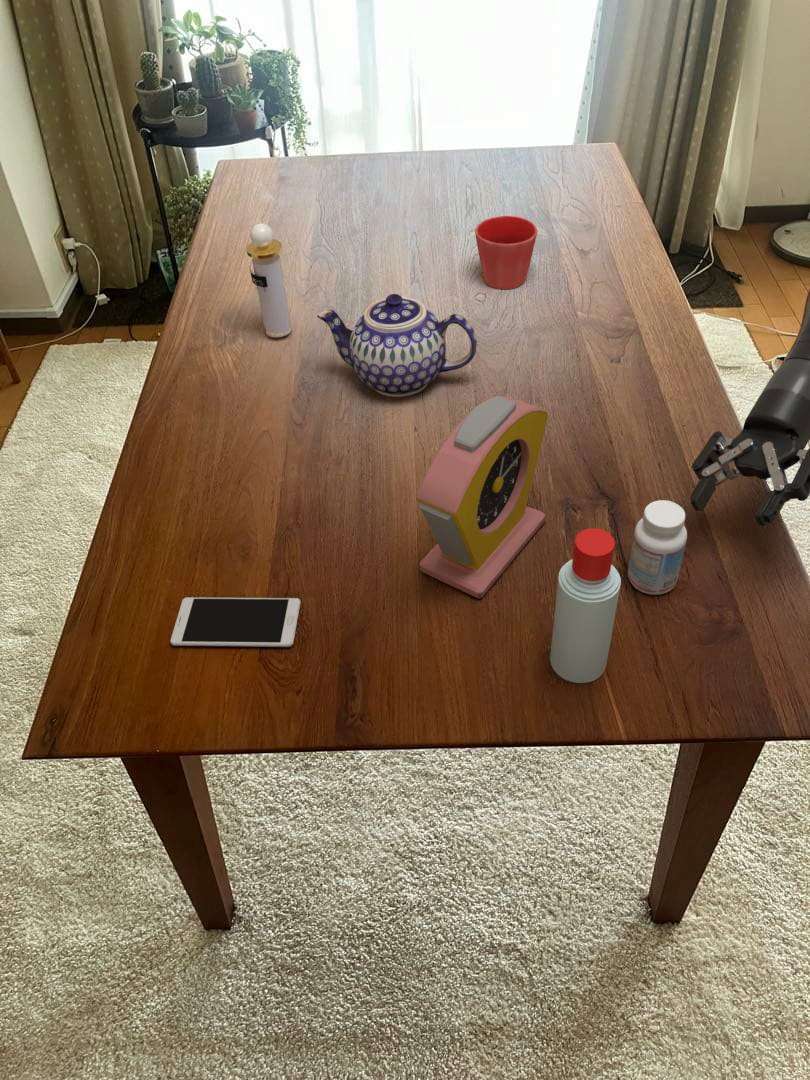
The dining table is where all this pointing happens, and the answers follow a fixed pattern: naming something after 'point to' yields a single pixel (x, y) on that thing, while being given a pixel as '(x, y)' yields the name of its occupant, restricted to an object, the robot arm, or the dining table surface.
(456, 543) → the pink desk clock
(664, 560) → the pill bottle
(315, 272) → the dining table surface
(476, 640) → the dining table surface
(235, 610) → the smartphone
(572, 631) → the water bottle
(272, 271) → the perfume bottle
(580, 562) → the cap
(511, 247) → the flower pot
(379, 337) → the teapot
